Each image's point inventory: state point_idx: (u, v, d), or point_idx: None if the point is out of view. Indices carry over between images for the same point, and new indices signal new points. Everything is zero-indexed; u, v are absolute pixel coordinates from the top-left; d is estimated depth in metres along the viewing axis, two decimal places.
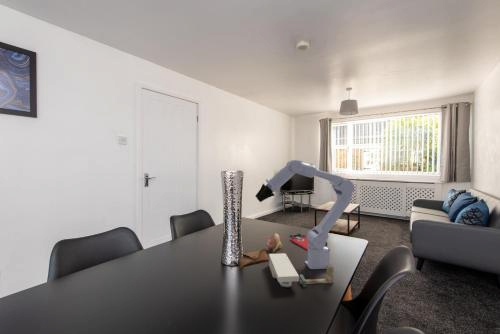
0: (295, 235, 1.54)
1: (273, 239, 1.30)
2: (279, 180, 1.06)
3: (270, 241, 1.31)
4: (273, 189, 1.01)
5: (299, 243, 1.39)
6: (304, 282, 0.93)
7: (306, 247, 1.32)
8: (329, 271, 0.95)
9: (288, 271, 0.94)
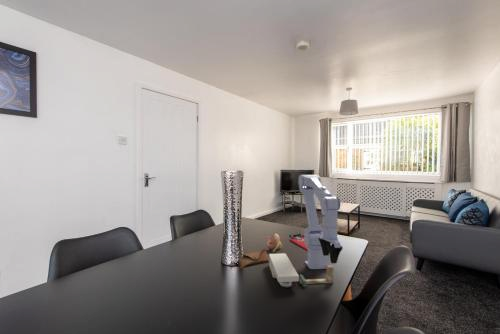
0: (295, 235, 1.54)
1: (273, 239, 1.30)
2: (332, 229, 0.93)
3: (270, 241, 1.31)
4: (337, 246, 0.88)
5: (299, 243, 1.39)
6: (304, 282, 0.93)
7: (306, 247, 1.32)
8: (329, 271, 0.95)
9: (288, 271, 0.94)
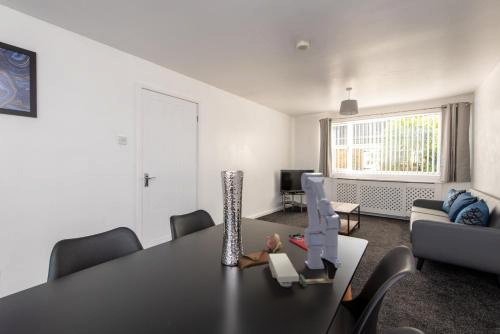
0: (294, 235, 1.54)
1: (273, 239, 1.30)
2: (332, 248, 0.93)
3: (270, 241, 1.30)
4: (338, 266, 0.89)
5: (299, 243, 1.39)
6: (304, 282, 0.93)
7: (306, 247, 1.32)
8: None
9: (288, 271, 0.94)
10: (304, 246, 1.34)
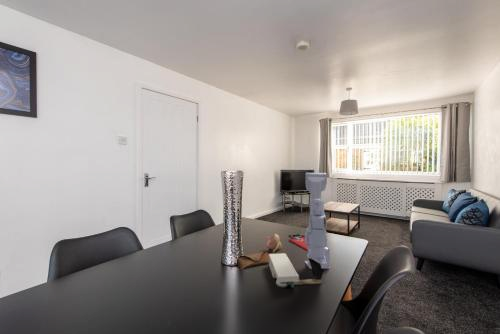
0: (294, 235, 1.54)
1: (273, 239, 1.30)
2: (319, 249, 0.93)
3: (270, 241, 1.30)
4: (324, 266, 0.88)
5: (298, 243, 1.38)
6: (292, 283, 0.92)
7: (306, 247, 1.32)
8: None
9: (288, 271, 0.94)
10: (304, 246, 1.34)
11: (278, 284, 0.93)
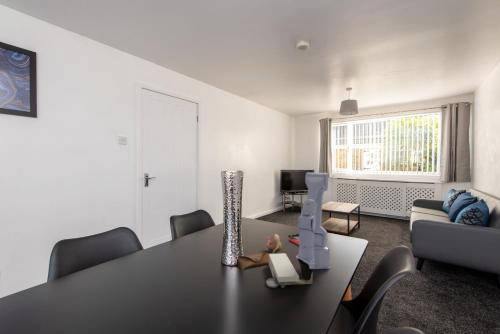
0: (294, 235, 1.54)
1: (273, 240, 1.29)
2: (308, 249, 0.92)
3: (270, 242, 1.30)
4: (312, 267, 0.88)
5: (298, 243, 1.38)
6: (282, 283, 0.92)
7: None
8: None
9: (288, 271, 0.94)
10: None
11: (268, 284, 0.93)
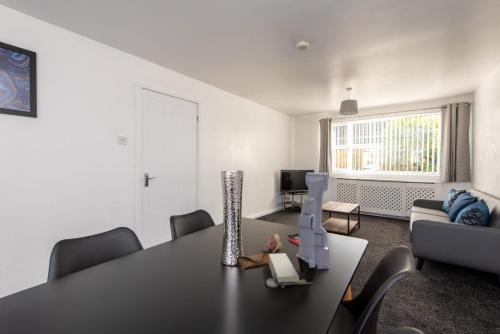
0: (293, 235, 1.53)
1: (273, 240, 1.29)
2: (308, 248, 0.92)
3: (270, 242, 1.29)
4: (312, 265, 0.88)
5: (298, 243, 1.38)
6: (282, 283, 0.92)
7: None
8: None
9: (288, 271, 0.94)
10: None
11: (268, 284, 0.93)
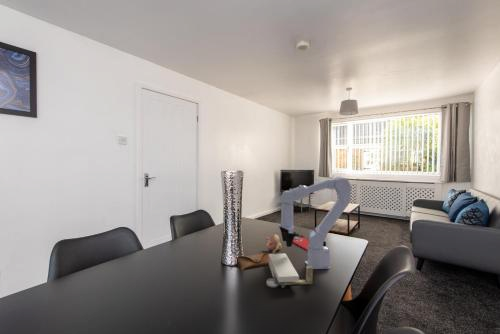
0: None
1: (273, 240, 1.29)
2: (288, 218, 1.11)
3: (270, 242, 1.29)
4: (291, 231, 1.06)
5: (298, 243, 1.38)
6: (282, 283, 0.92)
7: (305, 247, 1.32)
8: (308, 272, 0.94)
9: (288, 271, 0.94)
10: (304, 246, 1.34)
11: (268, 284, 0.93)
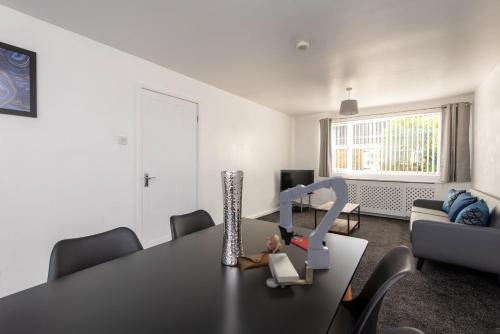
0: (293, 235, 1.53)
1: (273, 240, 1.28)
2: (286, 217, 1.13)
3: (270, 242, 1.29)
4: (289, 230, 1.08)
5: (298, 243, 1.38)
6: (282, 283, 0.92)
7: (305, 247, 1.32)
8: (308, 272, 0.94)
9: (288, 271, 0.94)
10: (303, 246, 1.34)
11: (268, 284, 0.93)
